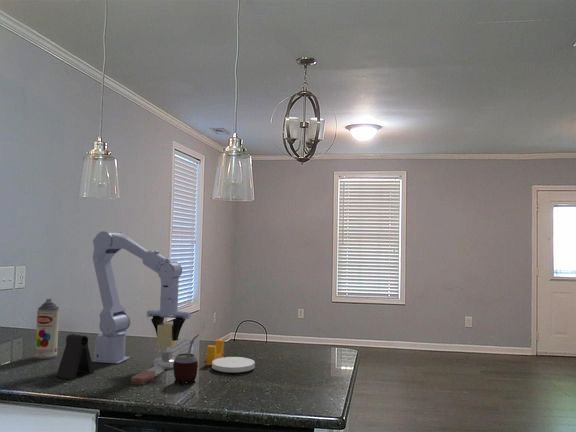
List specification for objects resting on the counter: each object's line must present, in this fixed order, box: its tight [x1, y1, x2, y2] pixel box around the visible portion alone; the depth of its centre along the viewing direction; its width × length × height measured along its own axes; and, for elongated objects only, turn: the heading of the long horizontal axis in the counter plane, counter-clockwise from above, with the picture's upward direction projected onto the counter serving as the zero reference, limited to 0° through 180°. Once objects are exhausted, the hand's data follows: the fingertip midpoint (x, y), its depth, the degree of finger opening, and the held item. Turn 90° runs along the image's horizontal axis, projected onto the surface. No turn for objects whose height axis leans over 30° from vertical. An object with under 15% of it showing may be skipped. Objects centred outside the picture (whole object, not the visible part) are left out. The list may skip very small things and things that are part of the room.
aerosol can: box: [34, 298, 60, 360], centre depth 171 cm, size 7×7×20 cm
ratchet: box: [130, 350, 176, 385], centre depth 155 cm, size 8×25×5 cm, turn 171°
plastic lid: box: [211, 356, 256, 373], centre depth 163 cm, size 14×14×2 cm
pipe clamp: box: [205, 339, 225, 366], centre depth 172 cm, size 12×4×6 cm, turn 173°
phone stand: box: [55, 333, 95, 381], centre depth 151 cm, size 9×6×12 cm, turn 156°
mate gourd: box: [172, 334, 199, 386], centre depth 146 cm, size 8×8×15 cm
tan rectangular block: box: [156, 321, 178, 348], centre depth 164 cm, size 5×5×7 cm
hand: (167, 339), depth 164 cm, fingers closed on tan rectangular block, 5 cm apart
